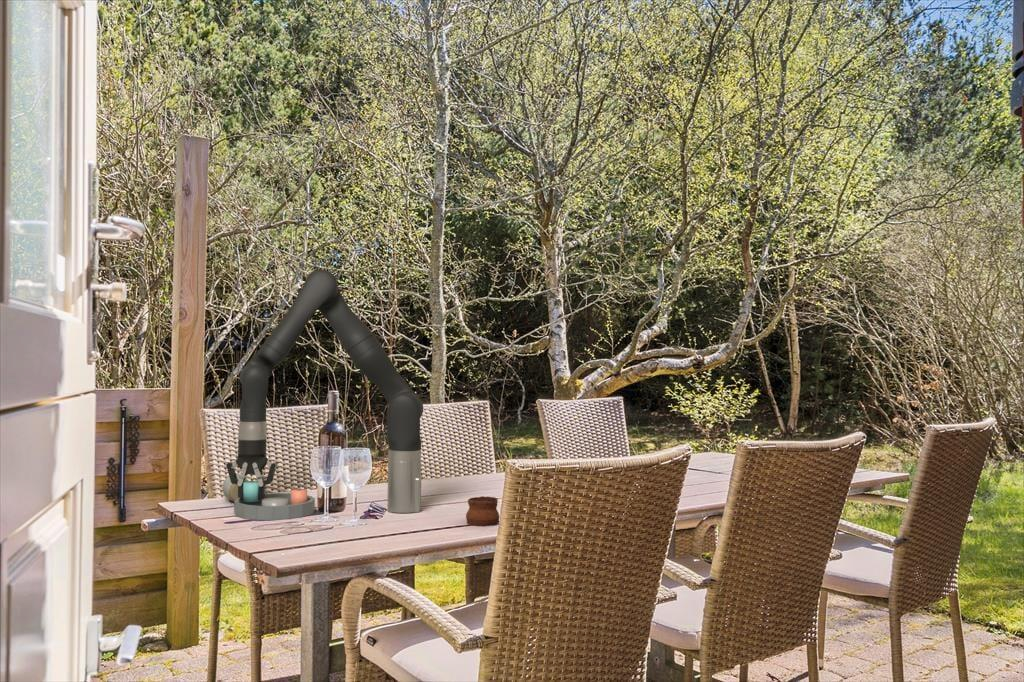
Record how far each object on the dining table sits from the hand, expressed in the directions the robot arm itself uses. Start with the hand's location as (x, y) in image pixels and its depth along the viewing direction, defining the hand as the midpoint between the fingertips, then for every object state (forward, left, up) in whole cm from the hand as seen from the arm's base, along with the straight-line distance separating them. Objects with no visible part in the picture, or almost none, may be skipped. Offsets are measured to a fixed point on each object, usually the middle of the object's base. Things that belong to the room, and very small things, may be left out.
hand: (251, 499), depth 238 cm
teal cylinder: (0, 0, 0) cm, 0 cm away
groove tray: (-7, 0, -4) cm, 7 cm away
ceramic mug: (+7, -17, -4) cm, 19 cm away
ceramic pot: (-64, +11, -4) cm, 65 cm away
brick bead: (-13, 0, -2) cm, 13 cm away
